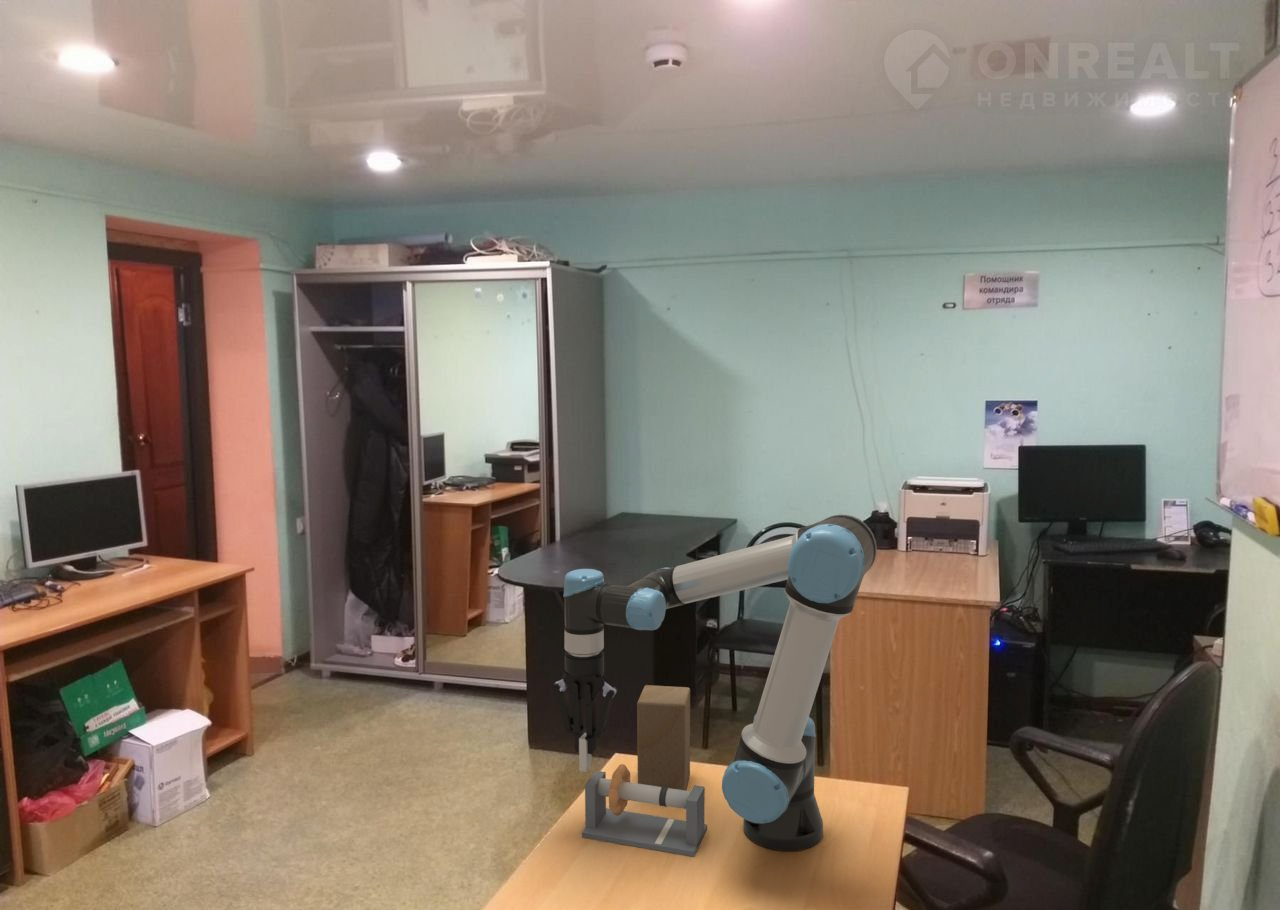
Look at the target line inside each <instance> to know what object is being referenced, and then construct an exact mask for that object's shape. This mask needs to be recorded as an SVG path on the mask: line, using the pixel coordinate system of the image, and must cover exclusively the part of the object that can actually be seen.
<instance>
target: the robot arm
mask: <svg viewBox="0 0 1280 910" xmlns="http://www.w3.org/2000/svg"><path fill="white" fill-rule="evenodd" d="M794 533H795V534H794V535H790V536H786V537H782V538H779V539H776V540H772V541H767V542H764V543H760V544H756V545H752V546H748V547H745V548H741V549H736V550H733V551H730V552H726V553H722V554H719V555H715V556H711V557H710V556H709V557H707V558H703V559H699V560H696V561H691V562H688V563H685V564H680V565H676V566H675V567H674V566H673V567H663V568H662V567H661V568H658V569H655V570H653V571H651V572H650V573H648V574H647V575H646V576H644V577H642V578H640V579H639V580H636V581H635V582H633V583H631V584H628V585H621V584H619V585H617V584H610V583H606V582H605V578H604V574H603V572H602V571H600V570H597V569H594V568H579V569H574V570H571V571H568V572H566V574H565V576H564V581H563V582H564V583H563V584H564V585H563V587H564V588H563V601H564V602H563V607H564V650H565V653H564V670H565V672H564V673H563V674H564V675H562V679H559V680H557V681H555V682H554V683H553V684H552V686H551V689H552V690H553V692H554V694H555V695H556V697H557V698H556V699H557V702H558V705H559V710H560V714H561V719H562V723H563V727H564V731H565V732H566V733H567V734H571V735H573V736H574V751H575V753H578V755H579V756H578V763H579V765H578V766H579V769H578V770H579V772H584V773H586V772H588V771H589V770H590V768H591V767H592V765H593V764H592V763H593V761H592V760H593V759H592V755H593V754H594V753H595V752H596V750H597V741H596V740H597V738H600V737H601V736H602V735H603V734H604V733H605V732H606V729H607V724H608V719H609V716H610V711H611V707H612V703H613V699H614V697H615V696H616V695H617V693H618V691H619V690H618V687H617V686H613V687H612V685H610V684H609V683H607V678H606V676H605V652H604V651H603V649H604V648H605V646H604V645H605V642H604V641H605V639H604V638H605V637H604V636H605V635H604V634H605V633H604V631H605V629H604V628H605V627H604V625H606V626H607V625H608V626H613V627H614V626H615V627H620V628H629V629H634V630H637V631H655V630H657V629H659V628H660V627H661V625H662V623H663V621H664V620H665V616H666V610H668V609H671V608H675V607H678V606H679V607H680V606H683V605H686V604H690V603H694V602H698V601H703V600H707V599H711V598H716V597H720V596H724V595H728V594H733V593H736V592H737V593H738V592H741V591H745V590H748V589H752V588H757V587H761V586H766V585H770V584H773V583H779V582H782V581H785V580H786V583H785V588H784V593H785V596H786V597H787V599H788V600H789V605H788V609H787V612H786V615H785V619H784V622H783V625H782V629H781V630H780V631H781V632H780V636H779V639H778V641H777V642H778V643H777V645H776V649H775V652H774V656H773V657H772V662H771V665H770V668H769V672H768V675H767V678H766V681H765V685H764V687H763V691H762V694H761V698H760V700H759V704H758V708H757V711H756V714H754V716H753V723H749V724H748V725H745V726H744V727H743V729H742V731H741V734H740V737H739V740H738V743H737V746H736V750H735V754H734V757H733V759H732V762H731V763H730V764H729V765H728V766H727V767H726V769H725V770H724V773H723V777H722V780H721V789H722V790H721V791H722V794H723V797H724V799H725V801H726V802H727V803H728V806H729V807H730V809H731V810H732V811H733V812H734V813H735V814H736V815H737V816H739V818H742V820H743V821H742V823H743V825H742V828H743V832H744V834H745V835H746V836H747V838H748V839H749V840H751V842H754V843H755V844H757V845H759V846H761V847H764V848H767V849H771V850H775V851H782V852H793V851H802V850H806V849H809V848H812V847H814V846H816V845H817V844H818V843H819V842H820V841H821V840H822V838H823V835H824V833H823V832H824V831H823V830H824V823H823V818H822V814H821V811H820V808H819V805H818V802H817V799H816V795H815V773H816V772H815V766H816V765H815V763H816V758H815V757H816V737H817V734H816V725H815V722H814V720H813V719H812V718H811V717H810V714H811V712H812V708H813V704H814V702H815V698H816V696H817V695H816V694H817V692H818V689H819V686H820V683H821V679H822V676H823V673H824V670H825V667H826V663H827V660H828V657H829V655H830V652H831V647H832V645H833V641H834V638H835V636H836V632H837V629H838V626H839V622H840V619H842V618H845V617H847V616H850V615H851V614H852V612H853V609H854V606H855V603H856V600H857V597H858V595H859V591H860V588H861V585H862V582H863V579H864V577H865V575H866V574H867V573H868V571H870V569H871V567H872V566H873V565H874V562H875V560H876V557H877V553H878V551H877V548H878V547H877V540H876V537H875V535H874V532H872V530H871V528H870V527H869V526H868V525H867V524H866V523H865V522H864V521H863V520H861V519H860V518H857V517H856V516H852V515H849V514H836V515H831V516H829V517H826V518H825V519H822V520H820V521H816V522H815V523H813V524H810V525H805V526H802V527H799V528H797V530H796V532H794ZM567 689H568V690H567ZM568 691H569V692H570V694H571V695H572V697H571V698H572V705H573V709H572V706H571V701H570V696H569V693H568ZM601 691H603V692H602V696H603V697H604V698H603V700H602V702H601V707H600V711H599V714H598V720H597V699H598V695H599V694H600V693H601Z"/></svg>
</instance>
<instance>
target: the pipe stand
mask: <svg viewBox="0 0 1280 910" xmlns="http://www.w3.org/2000/svg"><path fill="white" fill-rule="evenodd" d="M606 776H607V775H606V771H602V770H601V771H600V770H595V771H594V772H593V774H592V775H591V776H590V778H589V779H588V780H587V781H586V782H585V783H584V810H585V811H584V813H585V814H584V816H585V822H584V824H585V827H584V829H583V830H582V832H581V838H583V839H588V840H589V839H590V840H595V841H599V842H600V841H601V842H606V843H612V844H618V845H623V846H630V847H635V848H641V849H647V850H651V851H652V850H653V851H658V852H659V851H660V852H665V853H668V854H669V853H670V854H675V855H682V856H687V857H694V858H695V856H696V853H697V852H698V849H699V847H700V845H701V844H702V841H703V838H704V837H705V834H706V832H707V830H708V824H706V823H705V815H706V814H705V813H706V812H705V807H706V806H705V799H706V798H705V797H706V796H705V794H706V793H705V787H706V786H703V785H693V787H692V789H691V791H690V790H686V791H685V790H678V789H671V788H669V787H658V786H651V785H644V784H638V782H637V783H636V782H631V781H630V782H624V781H621V783H620V787H619V791H618V799H625V800H628V801H632V802H638V803H644V804H651V805H658V806H660V807H664V808H667V807H670V808H678V809H682V810H683V809H684V810H685V811H686V812H685V820H682V819H676V818H671V817H670V818H669V817H663V816H657V815H651V814H647V813H646V814H645V813H638V812H632V811H626V810H623V812H622V813H621V815H619V816H616V815H614V813H613V812H612V811H611V809H610V808H607V798H609V788H610V784H611V779H612V778H606Z"/></svg>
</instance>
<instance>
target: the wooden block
mask: <svg viewBox="0 0 1280 910" xmlns="http://www.w3.org/2000/svg"><path fill="white" fill-rule="evenodd" d="M636 709H637V710H636V711H637V712H636V713H637V715H636V718H637V721H636V723H637V724H636V725H637V729H636V731H637V732H636V733H637V735H636V736H637V739H636V740H637V743H636V744H637V752H636V753H637V757H636V758H637V783H638V784H644V785H651V786H658V787H669V788H671V789H678V790H685V791H687V788H688V785H689V784H688V783H689V779H690V776H691V688H690V687H686V686H670V685H669V686H668V685H667V686H666V685H665V686H664V685H648V684H645V685H644V687H643V689H642V691H641V693H640V695H639V698H638V700H637V703H636Z"/></svg>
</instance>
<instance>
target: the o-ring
mask: <svg viewBox="0 0 1280 910" xmlns="http://www.w3.org/2000/svg"><path fill="white" fill-rule="evenodd" d="M610 779H611V784H610V788H609V797H608V807H609V809H611V811H612V812H613V813H614V815H616V816H619V815H621V813H622V812H623V811H625V809H626V807H627V806H628V801H629V800H625V799H618V791H619V787H620V783H621V781H624V782H631V772H630V770H629V768H628V767H627V766H626V765H625V764H624V763H622V764H621V763H620V764H619V765H618V766H617V767H616V769H615V770H614V772H613V773H612V775H611V778H610Z"/></svg>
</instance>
